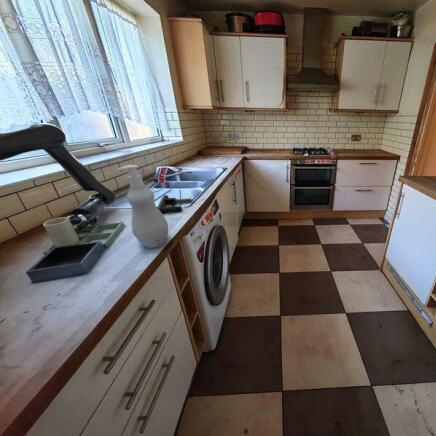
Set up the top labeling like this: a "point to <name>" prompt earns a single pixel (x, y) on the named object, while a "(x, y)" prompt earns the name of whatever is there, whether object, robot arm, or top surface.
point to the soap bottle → (145, 212)
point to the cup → (61, 232)
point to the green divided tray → (93, 235)
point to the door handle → (171, 201)
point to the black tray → (66, 261)
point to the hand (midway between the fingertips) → (64, 230)
